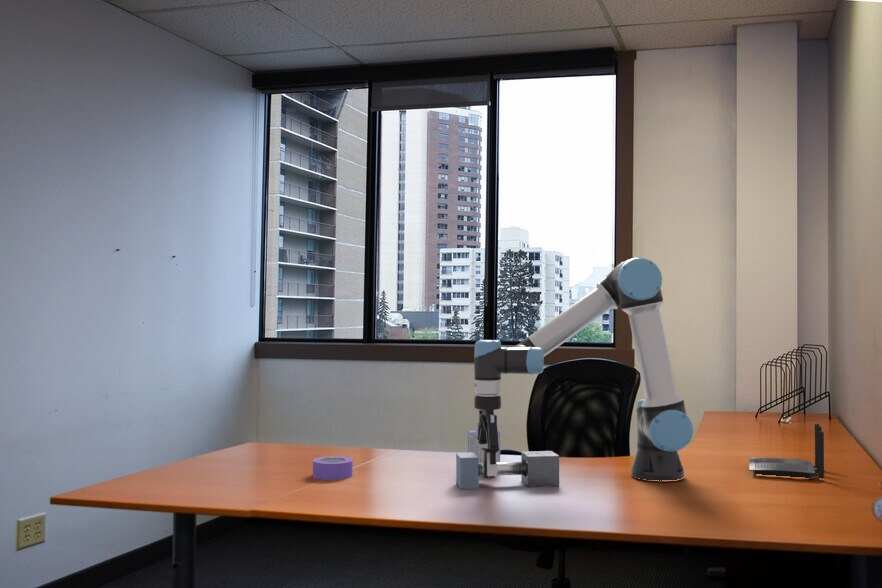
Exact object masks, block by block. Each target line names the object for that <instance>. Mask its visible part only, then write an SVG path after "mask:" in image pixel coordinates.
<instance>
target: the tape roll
mask: <svg viewBox="0 0 882 588" xmlns="http://www.w3.org/2000/svg"><path fill="white" fill-rule="evenodd" d="M353 466H354V465H353V458H352V457H348V456H340V455H339V456H337V455H336V456H334V455H331V456H328V455H327V456H321V457H316V458H314V459H313V460H312V477H313V479H317V480H322V481H323V480H324V481H338V480H345V479H350V478H352V477H353V469H354V468H353Z"/></svg>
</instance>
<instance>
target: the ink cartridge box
mask: <svg viewBox="0 0 882 588" xmlns="http://www.w3.org/2000/svg"><path fill="white" fill-rule="evenodd" d="M478 426H479V422H478V423H477V427H478ZM497 431H498V443H499V451H498V452H497V462H501V433H500V430H498V429H497ZM477 437H478V429H477V430H469V431H468V430H467V453H472V452H474V453H475V455H476V456H477V457H478V463H479V442H478V441H479V440H478V439H477ZM486 444H487V443H486Z"/></svg>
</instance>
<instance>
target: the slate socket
mask: <svg viewBox="0 0 882 588" xmlns="http://www.w3.org/2000/svg"><path fill="white" fill-rule="evenodd" d="M455 456H456V458H455V459H456V460H455V467H456V469H455V473H456V475H455V479H456V480H455V481H456V482H455V483H456V485H457V486H458V488H459V489H460V490H475V489H476V490H477V489H479V476H478V457H477V456H476V455H475V453H474V452H472V453H468V452H456V453H455Z"/></svg>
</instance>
